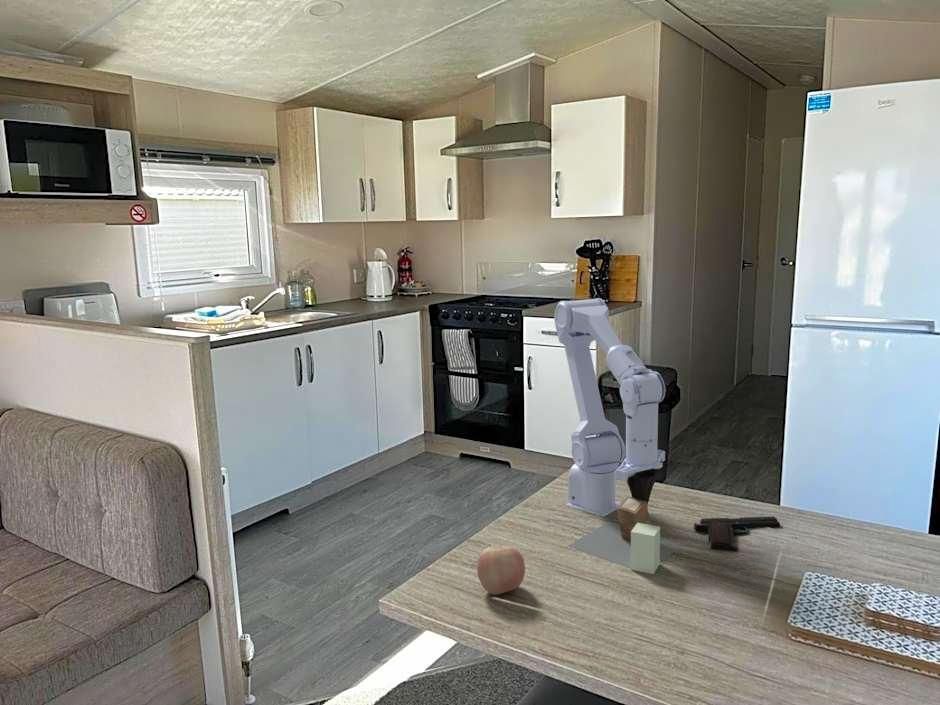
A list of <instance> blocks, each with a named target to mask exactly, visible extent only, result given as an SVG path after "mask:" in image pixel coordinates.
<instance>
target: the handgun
mask: <svg viewBox="0 0 940 705" xmlns="http://www.w3.org/2000/svg"><path fill="white" fill-rule="evenodd" d="M780 527H781V523H780V521H778V519H777V517H775V516H749V517H746V516H744V517H739V518H729V517H717V518H716V517H714V518H711V517H710V518H708V517H707V518H700V521H699V523H698V522H697V523H695V522H694V523H693V530H694V533H706V534H707V535H708V536H707V537H708V538H707V539H708V543H709V544H710V545H709V546H710V550H715V551H725V552H726V551H727V552H738V547H737V546H736V545H735V544H736V542H735V536H745V535H747V534H749V529H756V528H757V529H759V528H769V529H773V528H774V529H775V528H780ZM738 530H740V531H738Z"/></svg>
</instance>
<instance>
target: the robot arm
mask: <svg viewBox="0 0 940 705" xmlns="http://www.w3.org/2000/svg"><path fill="white" fill-rule="evenodd" d="M609 309H610V308H609V307H608V306H607V304H606V303H605V301H604V300H603V299H602V298H600V297H596V298H591V299H590V298H589V299H581V300H580V299H578V300H570V301H568V300H567V301H566V300H560V301H559V302H558V303H557V306H556V307H555V310H554V311H555V312H554V316H553V320H554V327H555V329H556V334H557V338H558V341H559V343H560V344H562V345H563V346H564V351H565V354H566V361H567V365H568V370H569V374H570V379H571V383H572V389H573V392H574V396H575V397H574V398H575V401H576V402H575V403H576V406H577V411H578V417H579V421H580V423H579V424H578V426H577V427H576V428H575V429H574V430H573V431H572V433H571V435H570V438H571V456H572V460H573V462H574V464H573V465H572V466H571V468H570V469H569V473H568V479H567V480H568V483H567V484H568V502H567V503H565V504H566V507H570V508H573V509H577V510H579V511H580V510H581V511H583V512H586V513H589V514H592V515H596V516H598V517H603V518H605V517H606V516H608V515H610V514H611V513H613V512H616V511H617V507H618V506H619V505H620V504H621V503H622V502H620V501H616V500H617V499H616V498H617V496H616V493H617V491H616V490H617V489H616V486H617V485H616V484H617V483H616V480H617V481H619V482H620V481H621V482H623V483H624V482H625V483H626V484H627V486H628V488H629V491H630V492H629V493H630V494H631V495H630V496H631V497H632V498H636V499H640V500H643V501H647V506H649V501H650V497H651V495H652V491H653V487H654V485H655V483H656V481H657V479H658V478H659V476H660V474H661V472H660V469H661V468H662V467H663V462H664V461H666V451H665V450H662V449H658V437H659V436H658V435H659V434H658V432H659V429H658V428H659V403H661V402H662V401H663V400H664V398H665V396H666V385H665V381H664V379H663V377H662V375H661V374H660V373H659V372H658V371H656V370H655V371H653V370H652V369H650V368H647V367H646V366H645V365H644V362H642V360H641V359H640V357H639V356H638V355H637V353H636V352H635V351H634V348H632V347H631V346H630V345H627V344H623V343H622V342H621V340H620V338H619V336H618V335H617V333H616V332H615V330H614V328H613V326H612V325H611V322H610V320H609V318H610V311H609ZM594 341H595V342H596V343H597V345H598V346H599V347H600V348H601V350H602V351H603V352H604V353H605V355H606V357H605V365H606V367H607V368H608V369H609V370H610V372H611V374H612V375H613V376H614V377H615V380H616V381H617V382H618V384H619V385H620V387H619V395H620V398H621V401H622V409H623V413H624V414H625V442H624V440H623V438H622V437H621V435H620V433H619V428H618V426H617V425H616V424H614V423H613V422H611V421H609V420H608V419H606V416H605V412H604V407H603V403H602V399H601V394H600V390H599V385H598V384H599V383H598V380H597V376H596V372H595V366H594V362H593V358H592V353H591V349H590V348H591V347H590V346H591V344H592V342H594ZM589 436H590V437H589ZM620 463H621V464H620Z"/></svg>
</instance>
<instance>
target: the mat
mask: <svg viewBox="0 0 940 705" xmlns="http://www.w3.org/2000/svg"><path fill="white" fill-rule="evenodd" d="M683 546H684V544H683V543H680V542H677V541H674V540H670V539H668V538H665V537H661V536H660V562H661V561H663V560H665V559H666V558H667V557H669V556H670V555H672V554H673V553H675V551H677V550H678V549H680V548H681V547H683ZM567 547H570V548H573V549H575V550H578V551H581V552H584V553H587V554H590V555H593V556H595V557H598V558H601V559H603V560H606V561H610V562H611V563H615V564H616V565H620V566H623V567H626V568H629V569H630V566H631V541H629V540H626V539H623V538H622V536H621V530H620V524H619V523H616V522H613V521H607V522H606V523H604V524H602V525H600V526H599V527H597V528H596V529H593V530H592V531H590V532H588V533H586V534H585V535H583V536H582V537H580V538H579V539H576V540H575V541H573V542H571V543H569V544H568V545H567ZM638 572H639V573H642V574H646V573H645V572H640V571H638Z"/></svg>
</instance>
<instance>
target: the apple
mask: <svg viewBox="0 0 940 705" xmlns="http://www.w3.org/2000/svg"><path fill="white" fill-rule="evenodd" d="M525 565H526V563H525V560H524V558H523V555H522V553H521V552H520V551H519V550H518V548H516V547H514V546H509V545H492V546H488V547H486V548H485V549H483V550H482V552H481V553H480V554H479V556H478V560H477V563H476V572H477V577H478V579H479V583H480V584H481V586H482V587H483V589H484V590H485V591H486V592H487V593H489V594H491V595H494V596H498V595H501V594H504V593H507V592H511V591H512V590H514V589H515V590H516V589H517V588H519V587H520V586H521V584H522V583H523V582H524V578H525V574H526V566H525Z"/></svg>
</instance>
